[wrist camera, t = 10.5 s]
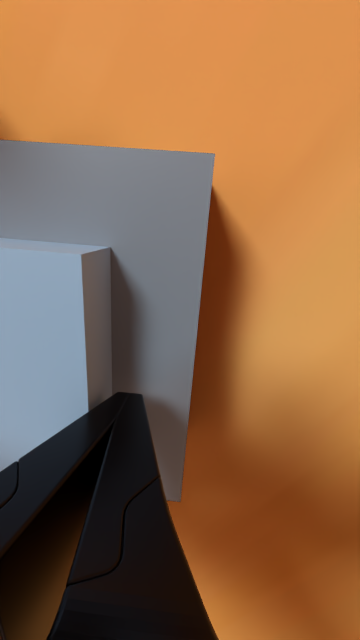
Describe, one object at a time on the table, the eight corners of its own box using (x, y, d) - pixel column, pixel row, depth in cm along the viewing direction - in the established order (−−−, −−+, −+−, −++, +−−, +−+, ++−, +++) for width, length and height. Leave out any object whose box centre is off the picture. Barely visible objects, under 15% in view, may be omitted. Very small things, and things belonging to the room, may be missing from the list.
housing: (185, 429, 15) (180, 501, 11) (-56, 404, 15) (-140, 464, 11) (231, -49, 8) (256, -272, 5) (-178, -64, 9) (-454, -275, 5)
